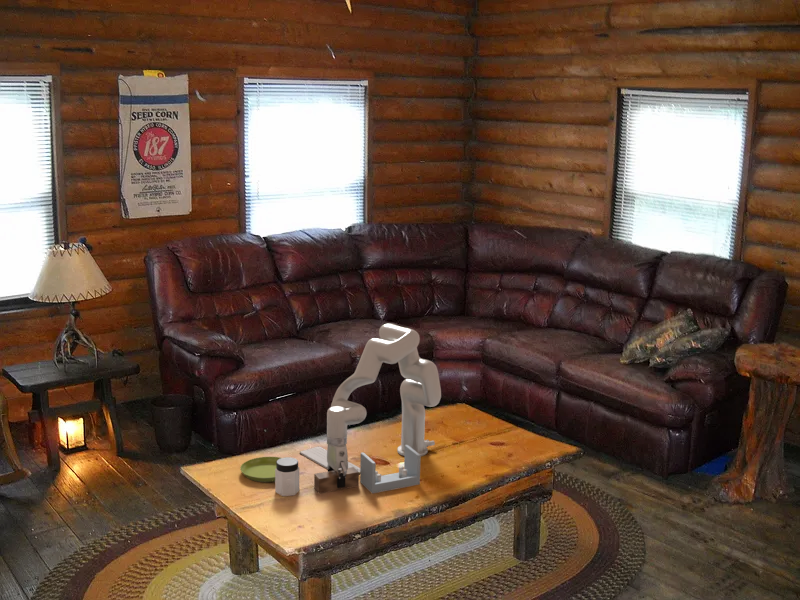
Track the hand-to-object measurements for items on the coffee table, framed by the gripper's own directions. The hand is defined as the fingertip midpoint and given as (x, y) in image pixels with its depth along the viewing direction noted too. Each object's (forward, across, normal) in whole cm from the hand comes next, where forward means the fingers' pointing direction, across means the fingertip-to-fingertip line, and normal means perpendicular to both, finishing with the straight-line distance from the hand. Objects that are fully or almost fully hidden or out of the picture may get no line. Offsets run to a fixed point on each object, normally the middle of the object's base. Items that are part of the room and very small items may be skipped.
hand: (336, 482), depth 346 cm
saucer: (+2, +22, +20) cm, 30 cm away
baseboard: (+3, +22, -8) cm, 24 cm away
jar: (+2, +4, +18) cm, 19 cm away
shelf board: (+2, 0, 0) cm, 2 cm away
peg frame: (+2, -5, -20) cm, 21 cm away
